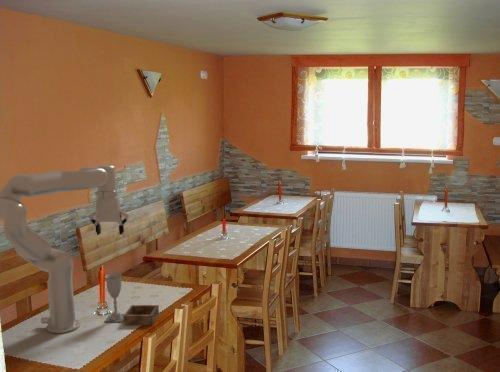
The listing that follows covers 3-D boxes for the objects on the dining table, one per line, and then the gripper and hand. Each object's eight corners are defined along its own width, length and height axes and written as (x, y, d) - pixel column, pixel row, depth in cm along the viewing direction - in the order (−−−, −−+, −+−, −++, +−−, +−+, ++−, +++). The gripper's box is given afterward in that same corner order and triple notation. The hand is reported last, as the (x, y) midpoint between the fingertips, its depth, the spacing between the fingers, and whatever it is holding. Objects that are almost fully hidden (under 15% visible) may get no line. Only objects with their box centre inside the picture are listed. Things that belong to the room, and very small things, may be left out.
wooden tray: (124, 325, 228) (123, 315, 227) (132, 314, 239) (131, 305, 238) (152, 325, 227) (152, 315, 226) (159, 314, 238) (158, 305, 238)
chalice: (122, 321, 231) (119, 278, 228) (105, 321, 231) (102, 279, 228) (126, 314, 238) (123, 273, 235) (110, 314, 238) (107, 273, 235)
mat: (104, 322, 231) (104, 321, 231) (110, 314, 239) (110, 314, 239) (123, 322, 231) (123, 321, 231) (128, 314, 238) (128, 313, 238)
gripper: (84, 196, 235) (87, 236, 238) (125, 195, 234) (127, 236, 236) (90, 193, 242) (93, 232, 245) (130, 192, 241) (132, 231, 244)
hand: (110, 234), depth 241 cm, fingers open, 9 cm apart
